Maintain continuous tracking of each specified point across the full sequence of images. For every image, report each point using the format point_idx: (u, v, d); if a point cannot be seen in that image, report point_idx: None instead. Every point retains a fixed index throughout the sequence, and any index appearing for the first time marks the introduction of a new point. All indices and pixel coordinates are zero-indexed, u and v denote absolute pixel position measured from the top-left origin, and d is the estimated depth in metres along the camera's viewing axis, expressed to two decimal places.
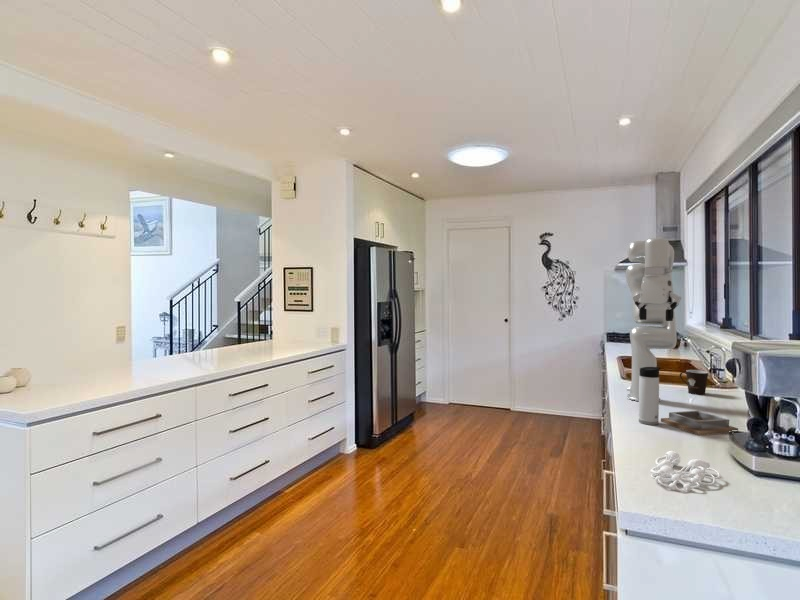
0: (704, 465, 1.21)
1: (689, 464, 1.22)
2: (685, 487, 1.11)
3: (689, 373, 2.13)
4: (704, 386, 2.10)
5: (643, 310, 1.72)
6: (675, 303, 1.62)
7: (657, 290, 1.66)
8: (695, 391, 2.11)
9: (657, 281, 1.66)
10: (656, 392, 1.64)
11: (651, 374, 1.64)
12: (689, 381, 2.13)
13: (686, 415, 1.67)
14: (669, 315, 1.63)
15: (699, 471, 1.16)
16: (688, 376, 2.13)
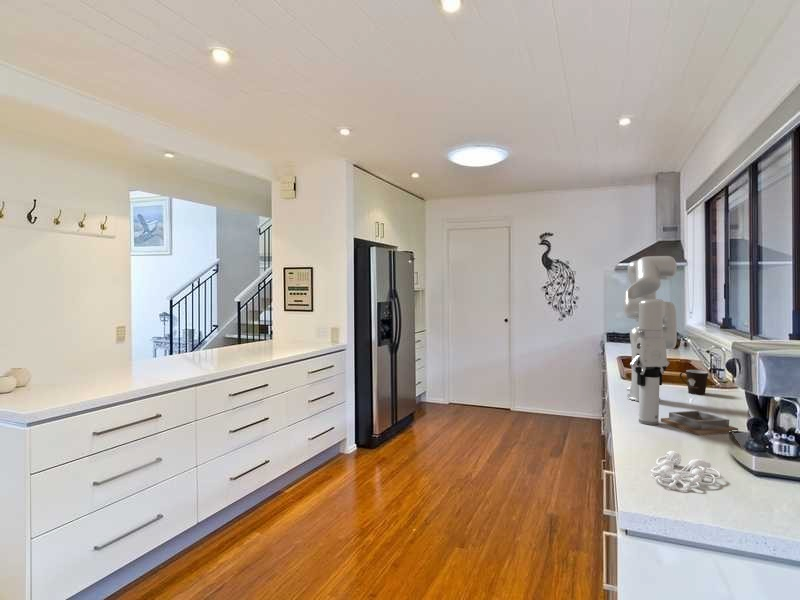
0: (705, 465, 1.21)
1: (690, 464, 1.22)
2: (685, 487, 1.11)
3: (689, 373, 2.13)
4: (704, 386, 2.10)
5: None
6: None
7: None
8: (695, 391, 2.11)
9: None
10: (656, 392, 1.64)
11: (651, 374, 1.64)
12: (689, 381, 2.13)
13: (686, 415, 1.67)
14: None
15: (699, 471, 1.16)
16: (688, 376, 2.13)
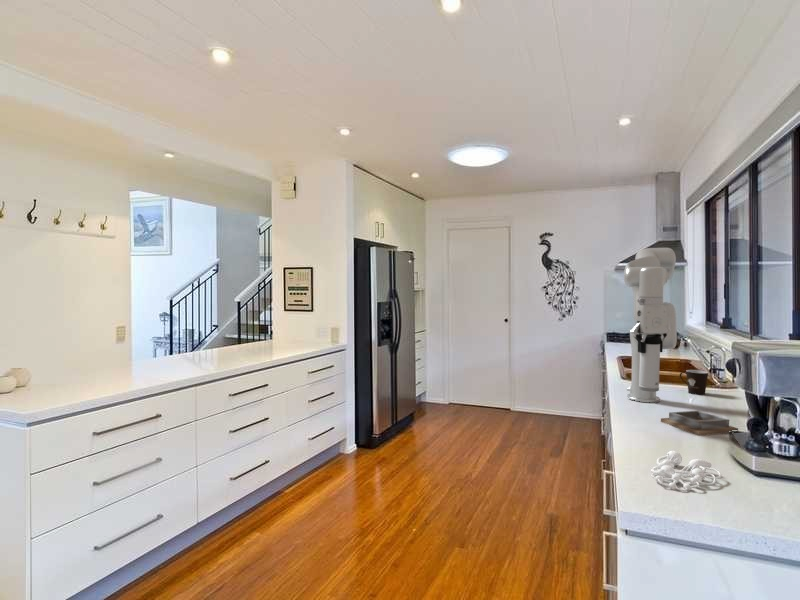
0: (705, 465, 1.21)
1: (690, 464, 1.22)
2: (685, 487, 1.11)
3: (689, 373, 2.13)
4: (704, 386, 2.10)
5: None
6: (634, 335, 1.66)
7: None
8: (695, 391, 2.11)
9: None
10: (657, 359, 1.64)
11: (652, 341, 1.64)
12: (689, 381, 2.13)
13: (686, 415, 1.67)
14: None
15: (700, 471, 1.16)
16: (688, 376, 2.13)
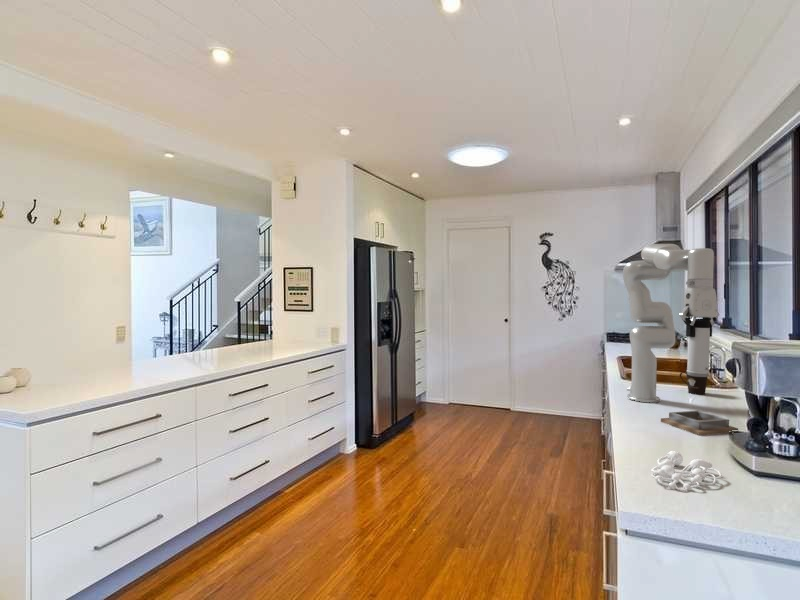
0: (706, 465, 1.21)
1: (691, 464, 1.22)
2: (685, 486, 1.11)
3: None
4: (704, 386, 2.10)
5: None
6: (682, 319, 1.61)
7: None
8: (695, 391, 2.11)
9: None
10: (707, 343, 1.59)
11: (702, 324, 1.58)
12: (689, 381, 2.13)
13: (686, 415, 1.67)
14: None
15: (700, 471, 1.16)
16: (688, 376, 2.13)
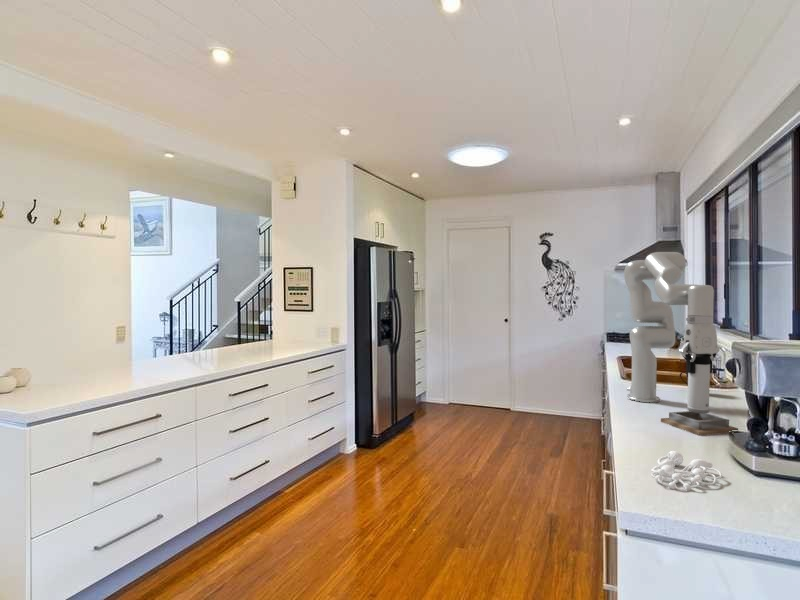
0: (706, 465, 1.21)
1: (691, 464, 1.22)
2: (685, 486, 1.11)
3: None
4: None
5: None
6: (683, 355, 1.61)
7: None
8: None
9: None
10: (707, 379, 1.59)
11: (702, 361, 1.59)
12: None
13: (686, 415, 1.67)
14: None
15: (700, 471, 1.16)
16: None
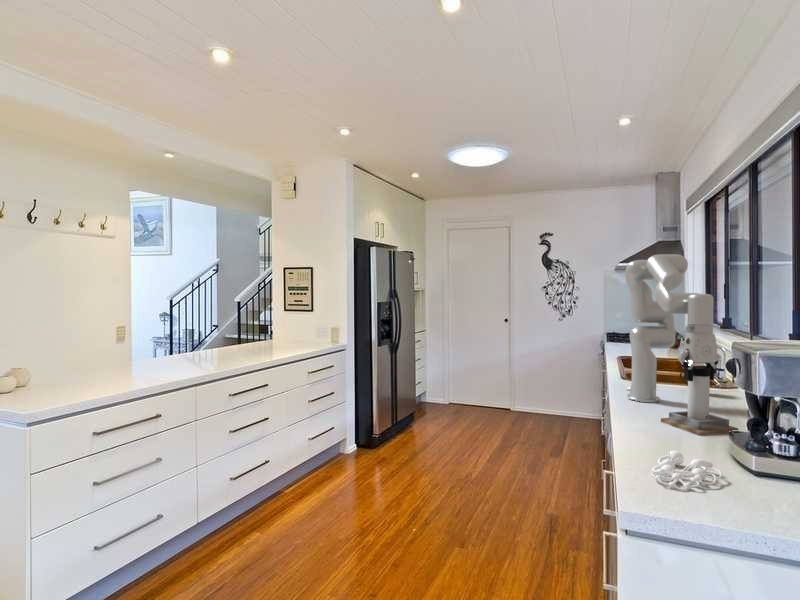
0: (707, 465, 1.21)
1: (692, 464, 1.22)
2: (685, 486, 1.11)
3: None
4: None
5: None
6: None
7: None
8: None
9: None
10: (707, 391, 1.59)
11: (702, 373, 1.59)
12: None
13: (686, 415, 1.67)
14: None
15: (700, 471, 1.16)
16: None
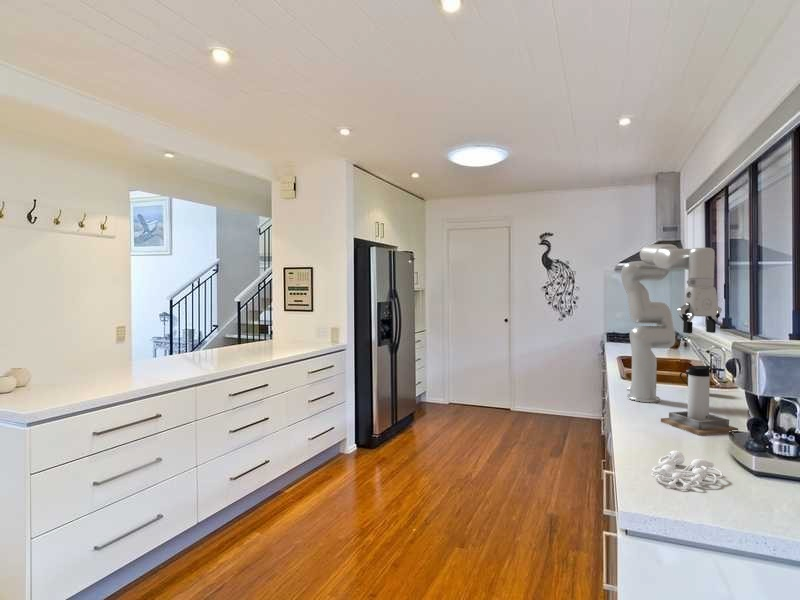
0: (707, 465, 1.21)
1: (692, 464, 1.22)
2: (685, 486, 1.12)
3: None
4: None
5: (709, 322, 1.65)
6: (680, 315, 1.62)
7: None
8: None
9: None
10: (707, 391, 1.59)
11: (702, 373, 1.59)
12: None
13: (686, 415, 1.67)
14: None
15: (701, 470, 1.16)
16: None
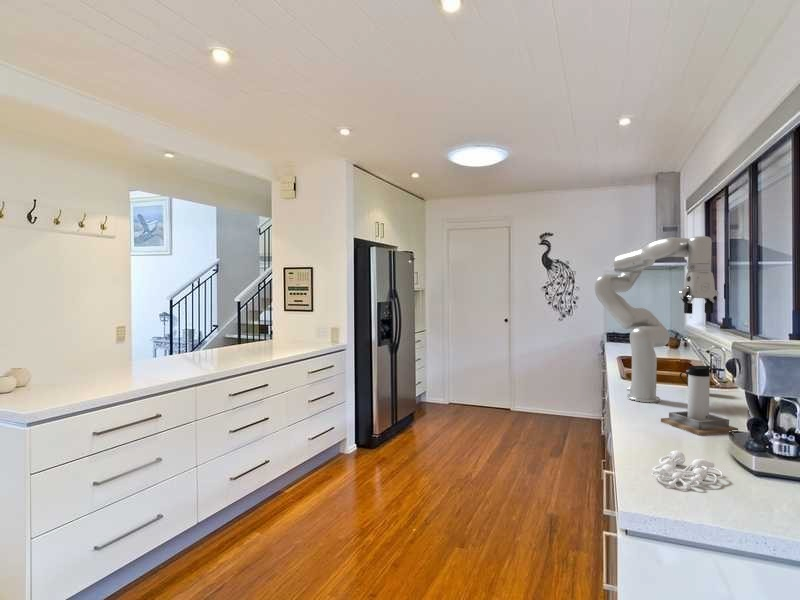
0: (708, 465, 1.21)
1: (693, 464, 1.22)
2: (685, 485, 1.12)
3: None
4: None
5: (707, 304, 1.82)
6: (681, 297, 1.79)
7: None
8: None
9: None
10: (707, 391, 1.59)
11: (702, 373, 1.59)
12: None
13: (686, 415, 1.67)
14: None
15: (701, 470, 1.16)
16: None
